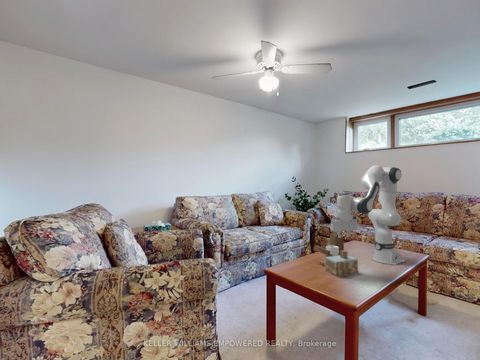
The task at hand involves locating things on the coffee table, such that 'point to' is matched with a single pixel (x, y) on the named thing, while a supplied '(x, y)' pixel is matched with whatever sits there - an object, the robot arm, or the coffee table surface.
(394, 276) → the coffee table surface
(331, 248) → the cup
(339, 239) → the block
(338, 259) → the lid
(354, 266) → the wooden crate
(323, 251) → the bar
